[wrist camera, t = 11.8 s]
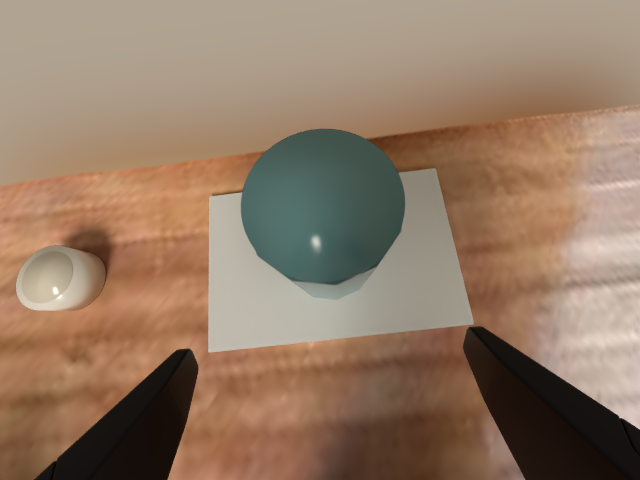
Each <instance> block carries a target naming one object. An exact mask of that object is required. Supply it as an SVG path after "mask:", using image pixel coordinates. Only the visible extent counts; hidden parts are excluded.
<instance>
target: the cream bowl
mask: <svg viewBox="0 0 640 480" xmlns="http://www.w3.org/2000/svg"><path fill="white" fill-rule="evenodd" d="M105 279H106V270H105V266H104V264H103V262H102V260H101V259H100V258H99V257H98V256H96V255H94V254H92V253H88V252H84V251H80V250H76V249H72V248H68V247H64V246H59V245H54V246H49V247H45V248H43V249H41V250H39V251H37V252H36V253H34V254H33V255H32V256H31V257H30V258H29V259H28V260H27V261H26V262H25V263H24V265H23V266H22V268H21V270H20V272H19V275H18V278H17V282H16V292H17V296H18V298H19V300H20V301H21V303H22V304H23V305H24V306H26V307H27V308H29V309H32V310H50V311H75V310H79V309H82V308H84V307H86V306H88V305H89V304H90V303H92V302H93V301H94V300H95V299H96V298H97V297H98V295H99V294H100V292H101V290H102V288H103V286H104V283H105Z"/></svg>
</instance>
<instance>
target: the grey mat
mask: <svg viewBox="0 0 640 480" xmlns="http://www.w3.org/2000/svg"><path fill="white" fill-rule="evenodd" d="M399 175H400V178H401V181H402V184H403V188H404V193H405V214H404V219H403V223H402V231H401V233H400V234H399V235H398V237H397V238H396V240H395V241H394V243H393V245H392V246H391V247H390V249H389V250H388V252H387V253H386V255H385V256H384V258H383V259H382V261H381V262H380V263H379V265H378V267H377V268H376V269H375V270H374V272H373V273H372V274H371V275H370V277H369V278H368V279H367V281H366V282H365V283H364V284H363V286H362V287H361V288H360V289H359V290H357V291H355V292H353V293H351V294H349V295H346V296H344V297H342V298H340V299H338V300H335V299H325V298H316V297H312V296H311V295H310V294H308V293H307V292H305V291H304V290H303V289H301V288H300V287H299V286H297V285H296V284H295V283H293V282H292V281H291V280H289V279H288V278H287V277H285V276H284V275H282V274H281V273H280V272H278V271H277V270H276V269H274V268H273V267H272V266H270V265H269V264H268V263H266V262H265V261H264V260H262V259H261V258H259V257H258V256H257V254H256V251H255V249H254V248H253V246H252V245H251V243H250V242H249V239H248V237H247V235H246V233H245V230H244V227H243V223H242V217H241V197H242V192H241V193H234V194H226V195H218V196H210V197H209V331H208V353H209V352H219V351H228V350H237V349H247V348H256V347H266V346H275V345H285V344H294V343H303V342H313V341H322V340H332V339H341V338H351V337H360V336H369V335H379V334H388V333H398V332H407V331H416V330H426V329H435V328H445V327H454V326H464V325H473V324H474V321H473V317H472V313H471V309H470V305H469V301H468V297H467V293H466V289H465V285H464V281H463V277H462V273H461V269H460V265H459V260H458V256H457V252H456V248H455V244H454V240H453V236H452V232H451V228H450V224H449V220H448V216H447V212H446V208H445V204H444V200H443V196H442V192H441V188H440V184H439V180H438V176H437V172H436V168H432V169H424V170H416V171H408V172H400V173H399Z"/></svg>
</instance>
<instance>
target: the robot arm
mask: <svg viewBox="0 0 640 480" xmlns="http://www.w3.org/2000/svg"><path fill="white" fill-rule="evenodd" d="M463 349H464V353H465V355H466V358H467V360H468V363H469V365H470V367H471V370H472V372H473V375H474V377H475V380H476V382H477V385H478V387H479V390H480V392H481V394H482V397H483V399H484V401H485V403H486V405H487V407H488V409H489V411H490V413H491V415H492V417H493V419H494V421H495V422H496V424H497V426H498V428H499V430H500V432H501V434H502V436H503V438H504V440H505V442H506V443H507V445H508V447H509V449H510V451H511V453H512V455H513V457H514V459H515V461H516V463H517V465H518V466H519V468H520V470H521V472H522V474H523V476H524V478H525V480H640V429H638V428H636V427H635V426H633V425H632V424H630V423H629V422H627V421H626V420H624V419H622V418H619V416H618V415H616V414H615V413H613V412H612V411H610V410H609V409H607V408H606V407H604V406H603V405H601V404H600V403H598V402H597V401H595V400H594V399H592V398H591V397H589V396H587V395H586V394H584V393H583V392H581V391H580V390H578V389H577V388H575V387H574V386H572V385H571V384H569V383H568V382H566V381H565V380H563V379H562V378H560V377H558V376H557V375H555V374H554V373H552V372H551V371H549V370H548V369H546V368H545V367H543V366H542V365H540V364H539V363H537V362H536V361H534V360H533V359H531V358H530V357H528V356H526V355H525V354H523V353H522V352H520V351H519V350H517V349H516V348H514V347H513V346H511V345H510V344H508V343H507V342H505V341H504V340H502V339H501V338H499V337H497V336H496V335H494V334H493V333H491V332H490V331H488V330H487V329H485V328H484V327H481V326H476V327H469V328H468V329H467V331H466V335H465V340H464V344H463ZM197 375H198V364H197V361H196V359H195V356H194V354H193V352H192V350H191V349H178V350H176V351H175V352H174V353H173V354H172V355H170V356H169V357H168V358H167V359H166V360H165V361H164V362H163V363H162V364H161V365H159V366H158V367H157V368H156V369H155V370H154V371H153V372H152V373H151V374H150V375H148V376H147V377H146V378H145V379H144V380H143V381H142V382H141V383H140V384H139V385H138V386H136V387H135V388H134V389H133V390H132V391H131V392H130V393H129V394H128V395H127V396H125V397H124V398H123V399H122V400H121V401H120V402H119V403H118V404H117V405H116V406H114V407H113V408H112V409H111V410H110V411H109V412H108V413H107V414H106V415H105V416H103V417H102V418H101V419H100V420H99V421H98V422H97V423H96V424H95V425H94V426H92V427H91V428H90V429H89V430H88V431H87V432H86V433H85V434H84V435H83V436H81V437H80V438H79V439H78V440H77V441H76V442H75V443H74V444H73V445H72V446H70V447H69V448H68V449H67V450H66V451H65V452H64V453H63V454H62V455H61V456H59V457H58V459H57V461H54V462H53V463H52V464H51V465H49V466H48V467H47V468H46V469H45V470H44V471H43V472H42V473H41V474H40V475H38V476H37V477H36V478H35V479H34V480H167V479H168V476H169V473H170V470H171V467H172V464H173V461H174V458H175V455H176V452H177V449H178V446H179V443H180V440H181V437H182V434H183V431H184V428H185V425H186V422H187V418H188V414H189V410H190V405H191V401H192V397H193V392H194V388H195V384H196V379H197Z"/></svg>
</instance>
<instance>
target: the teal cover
mask: <svg viewBox="0 0 640 480" xmlns="http://www.w3.org/2000/svg"><path fill="white" fill-rule="evenodd" d="M404 214H405V193H404V188H403V184H402V181H401V178H400V175H399V173H398V171H397V169H396V167H395V166H394V164H393V163H392V161H391V160H390V159H389V157H388V156H387V155H386V154H385V153H384V152H383V151H382V150H381V149H379V148H378V147H377V146H376V145H375V144H373V143H371V142H370V141H368V140H367V139H365V138H363V137H361V136H358V135H356V134H353V133H350V132H346V131H341V130H334V129H315V130H308V131H304V132H300V133H297V134H294V135H292V136H289V137H287V138H285V139H283V140H281V141H280V142H278V143H276V144H275V145H274V146H272V147H271V148H270V149H268V150H267V151H266V152H265V153H264V154H263V155H262V156H261V157H260V158H259V159H258V161H257V162H256V163H255V165H254V166H253V168H252V169H251V171H250V173H249V175H248V177H247V179H246V182H245V184H244V188H243V192H242V197H241V217H242V223H243V227H244V230H245V233H246V235H247V237H248V239H249V242H250V243H251V245H252V246H253V248H254V249H255V251H256V254H257V256H258V257H259V258H261V259H262V260H264V261H265V262H266V263H268V264H269V265H270V266H272V267H273V268H274V269H276V270H277V271H278V272H280V273H281V274H282V275H284V276H285V277H287V278H288V279H289V280H291V281H292V282H293V283H295V284H296V285H297V286H299V287H300V288H301V289H303V290H304V291H305V292H307V293H308V294H310V295H311V296H312V297H316V298H325V299H335V300H338V299H340V298H342V297H344V296H346V295H349V294H351V293H353V292H355V291H357V290H359V289H360V288H361V287H362V286H363V284H364V283H365V282H366V281H367V279H368V278H369V277H370V275H371V274H372V273H373V272H374V270H375V269H376V268H377V267H378V265H379V263H380V262H381V261H382V259H383V258H384V256H385V255H386V253H387V252H388V250H389V249H390V247H391V246H392V245H393V243H394V241H395V240H396V238H397V237H398V235H399V234H400V233H401V231H402V223H403V219H404Z"/></svg>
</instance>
